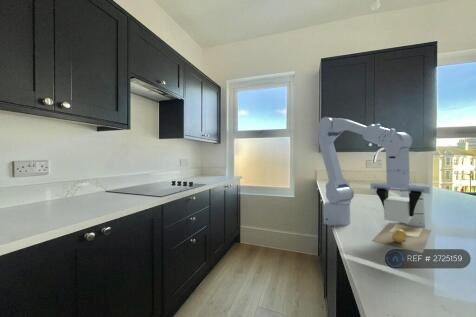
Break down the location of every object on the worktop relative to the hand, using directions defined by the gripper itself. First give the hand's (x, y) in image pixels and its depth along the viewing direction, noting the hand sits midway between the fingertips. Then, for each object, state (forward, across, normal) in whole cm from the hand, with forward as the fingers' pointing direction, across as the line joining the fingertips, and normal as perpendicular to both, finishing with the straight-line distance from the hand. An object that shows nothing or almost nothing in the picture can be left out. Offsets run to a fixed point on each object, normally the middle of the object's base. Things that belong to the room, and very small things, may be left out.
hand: (398, 213), depth 64 cm
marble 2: (+7, 0, -2) cm, 7 cm away
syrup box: (+10, 0, +25) cm, 27 cm away
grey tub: (+1, 0, 0) cm, 1 cm away
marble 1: (+7, 0, +2) cm, 7 cm away
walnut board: (+9, 0, +6) cm, 11 cm away
